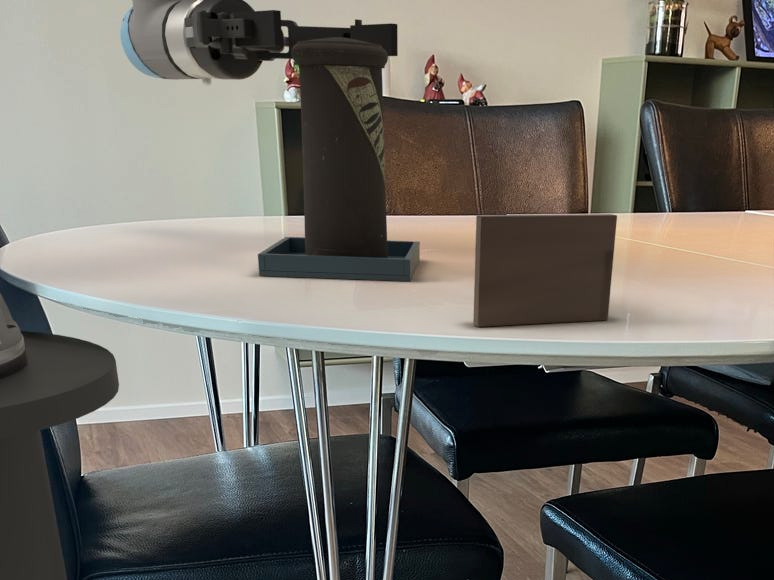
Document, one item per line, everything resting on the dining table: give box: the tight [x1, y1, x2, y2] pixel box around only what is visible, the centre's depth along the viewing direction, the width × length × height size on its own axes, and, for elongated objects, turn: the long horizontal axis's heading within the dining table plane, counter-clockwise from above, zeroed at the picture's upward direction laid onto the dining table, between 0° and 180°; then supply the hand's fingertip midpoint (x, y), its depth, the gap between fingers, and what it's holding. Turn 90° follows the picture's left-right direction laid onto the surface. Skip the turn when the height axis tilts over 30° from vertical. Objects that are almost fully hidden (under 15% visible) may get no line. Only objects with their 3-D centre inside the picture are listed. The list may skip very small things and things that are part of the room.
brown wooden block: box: [472, 213, 618, 328], centre depth 84 cm, size 15×12×8 cm
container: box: [291, 37, 389, 258], centre depth 98 cm, size 9×9×20 cm
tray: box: [257, 236, 421, 282], centre depth 103 cm, size 15×15×2 cm
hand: (339, 34), depth 93 cm, fingers open, 13 cm apart
